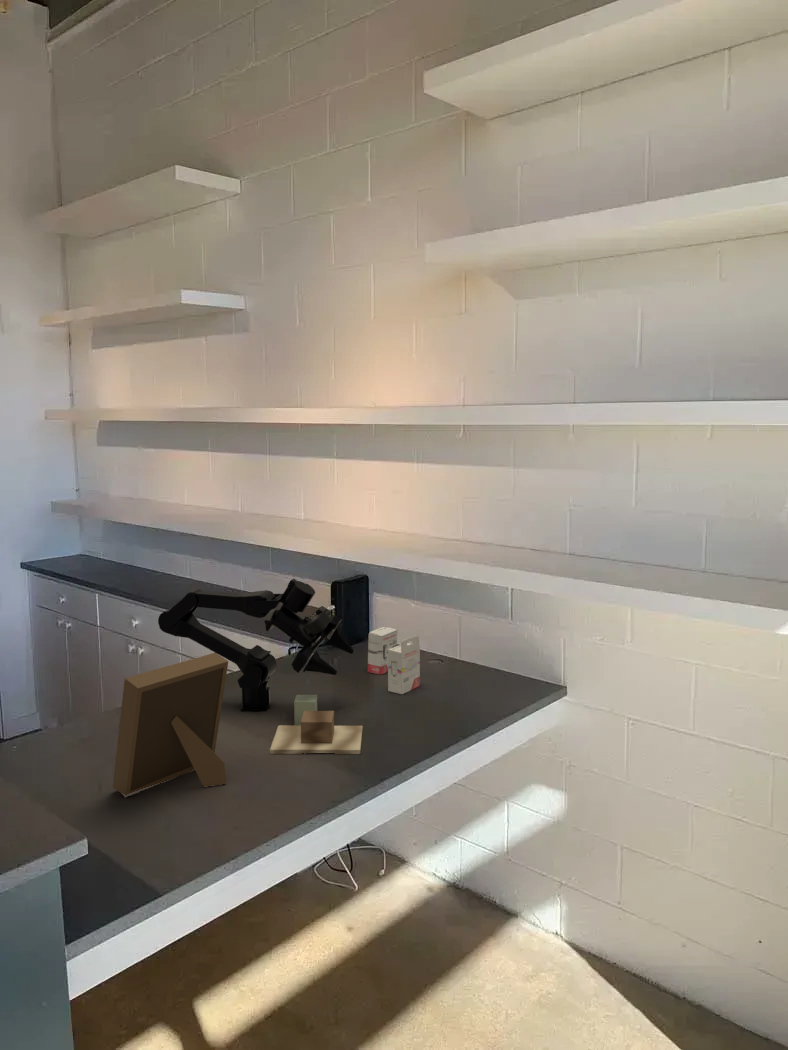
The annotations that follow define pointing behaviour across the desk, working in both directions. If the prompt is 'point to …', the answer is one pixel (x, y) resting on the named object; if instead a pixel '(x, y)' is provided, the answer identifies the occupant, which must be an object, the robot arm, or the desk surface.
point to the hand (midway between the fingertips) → (345, 662)
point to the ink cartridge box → (404, 666)
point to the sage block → (304, 706)
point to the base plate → (338, 747)
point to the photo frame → (171, 724)
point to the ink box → (380, 649)
